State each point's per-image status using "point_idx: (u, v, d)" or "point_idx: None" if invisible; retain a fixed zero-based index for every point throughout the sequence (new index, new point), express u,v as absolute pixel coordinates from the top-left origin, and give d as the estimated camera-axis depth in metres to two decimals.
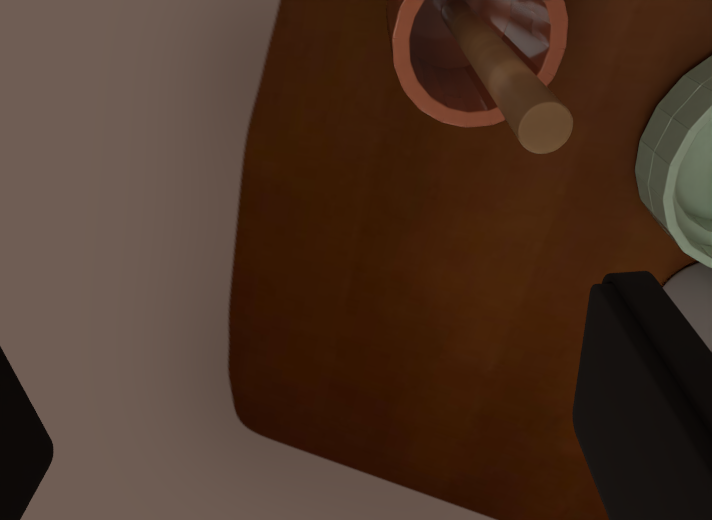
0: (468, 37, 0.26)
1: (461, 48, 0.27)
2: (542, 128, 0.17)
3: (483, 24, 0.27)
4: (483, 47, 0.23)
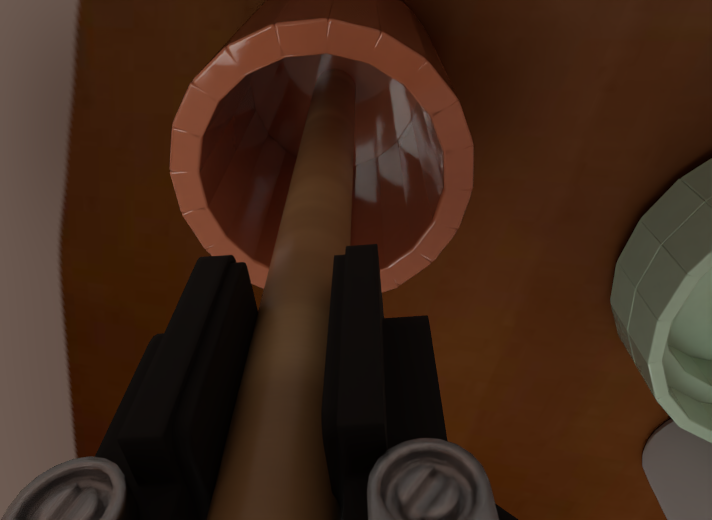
0: (293, 178, 0.15)
1: None
2: None
3: (327, 149, 0.15)
4: (284, 228, 0.12)
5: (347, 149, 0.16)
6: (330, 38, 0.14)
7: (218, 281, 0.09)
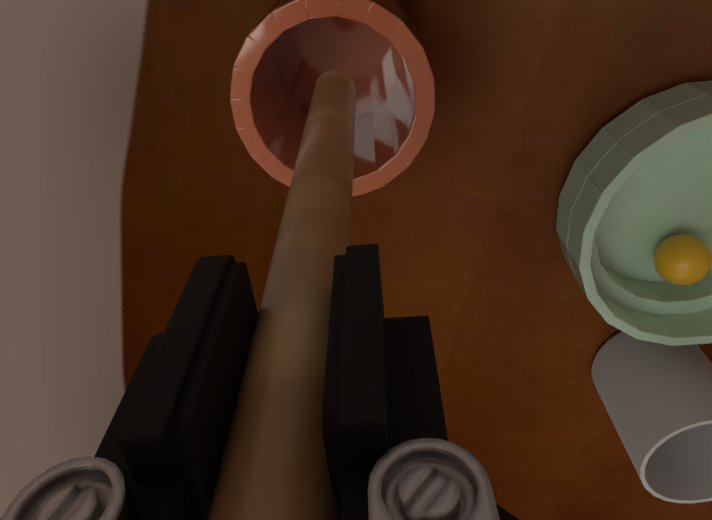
0: (293, 178, 0.15)
1: None
2: None
3: (327, 149, 0.15)
4: (285, 227, 0.12)
5: (347, 149, 0.16)
6: (339, 6, 0.21)
7: (217, 281, 0.09)
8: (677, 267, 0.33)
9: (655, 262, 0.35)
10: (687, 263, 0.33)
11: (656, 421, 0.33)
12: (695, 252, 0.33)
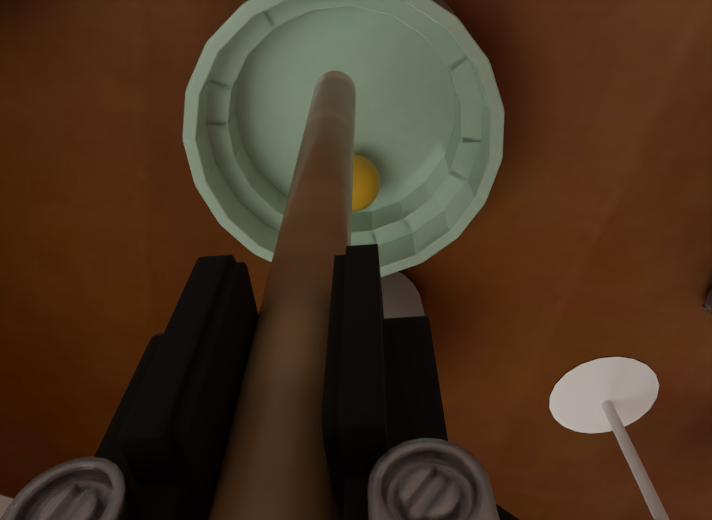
0: (293, 180, 0.15)
1: None
2: None
3: (327, 151, 0.15)
4: (285, 230, 0.12)
5: (347, 151, 0.16)
6: None
7: (217, 281, 0.09)
8: None
9: None
10: None
11: None
12: None
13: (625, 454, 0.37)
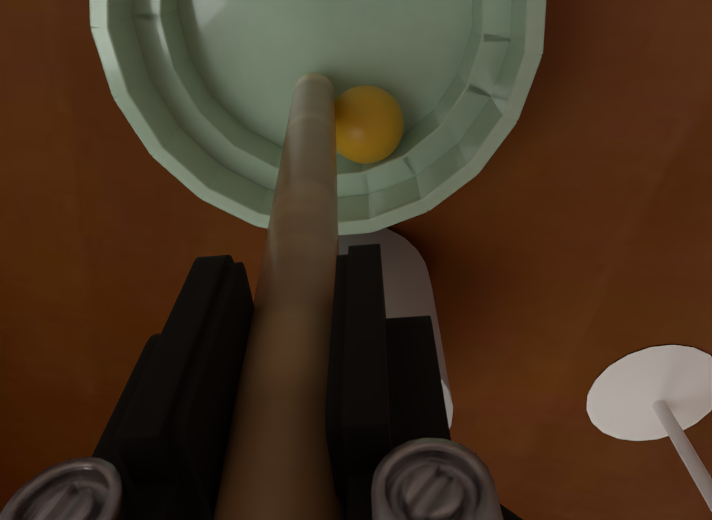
0: (278, 182, 0.14)
1: None
2: None
3: (310, 153, 0.15)
4: (273, 232, 0.12)
5: (330, 152, 0.16)
6: None
7: (215, 281, 0.09)
8: (370, 149, 0.22)
9: None
10: (382, 140, 0.22)
11: None
12: (388, 120, 0.22)
13: (689, 468, 0.29)
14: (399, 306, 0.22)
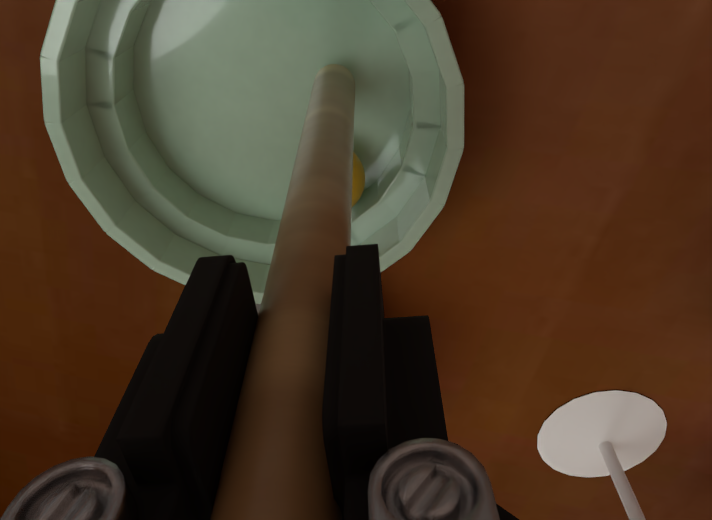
0: (291, 179, 0.14)
1: None
2: None
3: (325, 147, 0.15)
4: (283, 230, 0.12)
5: (346, 146, 0.16)
6: None
7: (217, 281, 0.09)
8: None
9: None
10: None
11: None
12: None
13: (627, 510, 0.30)
14: None
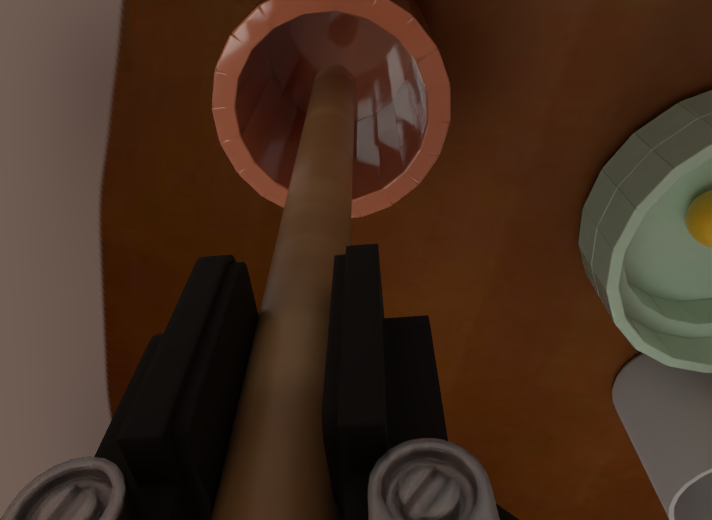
0: (291, 180, 0.14)
1: None
2: None
3: (325, 148, 0.15)
4: (283, 232, 0.12)
5: (346, 147, 0.16)
6: None
7: (217, 281, 0.09)
8: None
9: None
10: None
11: (687, 456, 0.30)
12: None
13: None
14: None
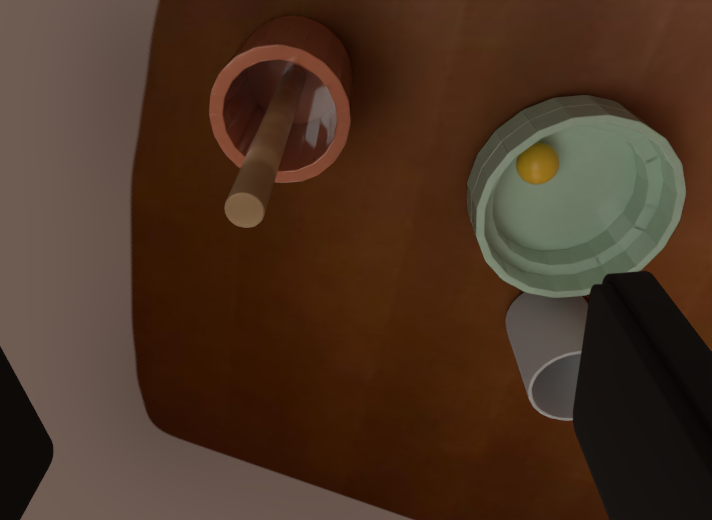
0: (264, 115, 0.32)
1: None
2: (241, 210, 0.23)
3: (280, 102, 0.33)
4: (258, 130, 0.30)
5: (291, 103, 0.34)
6: (280, 53, 0.31)
7: None
8: None
9: (537, 178, 0.41)
10: None
11: (539, 354, 0.44)
12: None
13: None
14: None
